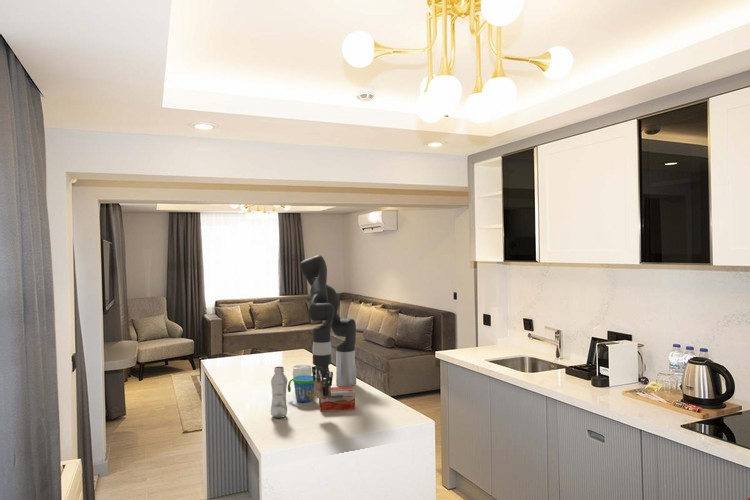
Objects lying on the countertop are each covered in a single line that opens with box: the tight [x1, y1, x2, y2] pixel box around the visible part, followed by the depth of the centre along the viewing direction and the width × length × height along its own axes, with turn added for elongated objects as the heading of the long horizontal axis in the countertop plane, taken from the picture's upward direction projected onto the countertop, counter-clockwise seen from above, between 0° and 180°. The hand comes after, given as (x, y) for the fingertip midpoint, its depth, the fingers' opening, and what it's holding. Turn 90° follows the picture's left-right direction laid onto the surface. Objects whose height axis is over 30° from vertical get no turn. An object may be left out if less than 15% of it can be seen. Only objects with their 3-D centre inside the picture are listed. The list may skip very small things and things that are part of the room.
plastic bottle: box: [270, 366, 288, 419], centre depth 207 cm, size 6×7×20 cm
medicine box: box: [318, 386, 356, 412], centre depth 219 cm, size 15×8×8 cm, turn 99°
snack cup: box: [287, 375, 315, 403], centre depth 230 cm, size 16×10×10 cm
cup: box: [292, 364, 313, 388], centre depth 243 cm, size 9×9×12 cm
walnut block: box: [314, 380, 332, 399], centre depth 206 cm, size 5×5×6 cm
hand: (322, 394), depth 207 cm, fingers closed on walnut block, 5 cm apart
